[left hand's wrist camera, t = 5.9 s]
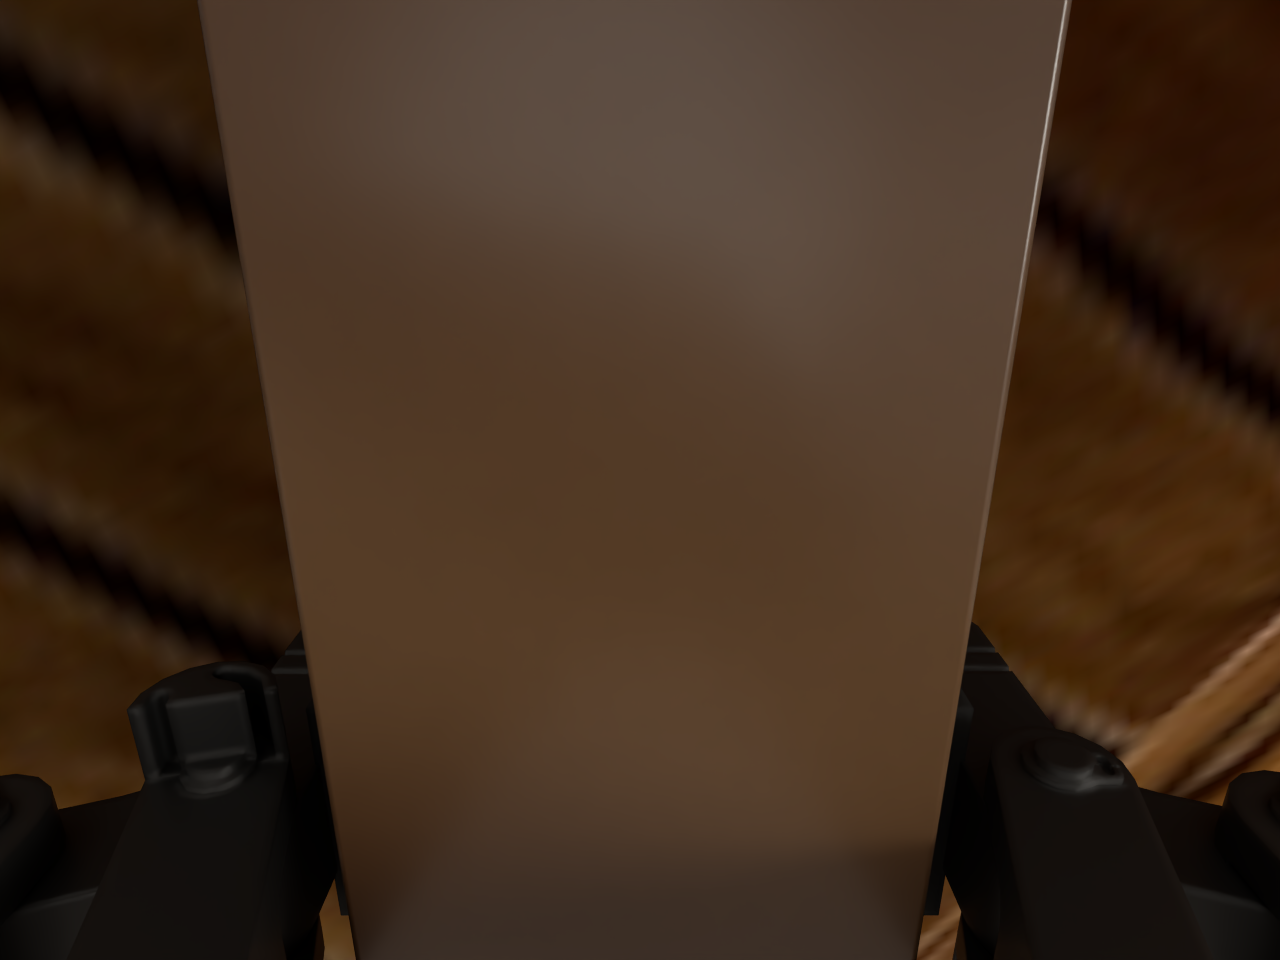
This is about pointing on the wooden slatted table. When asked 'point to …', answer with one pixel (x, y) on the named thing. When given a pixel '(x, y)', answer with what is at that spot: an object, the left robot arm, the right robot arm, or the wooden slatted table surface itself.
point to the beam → (635, 444)
